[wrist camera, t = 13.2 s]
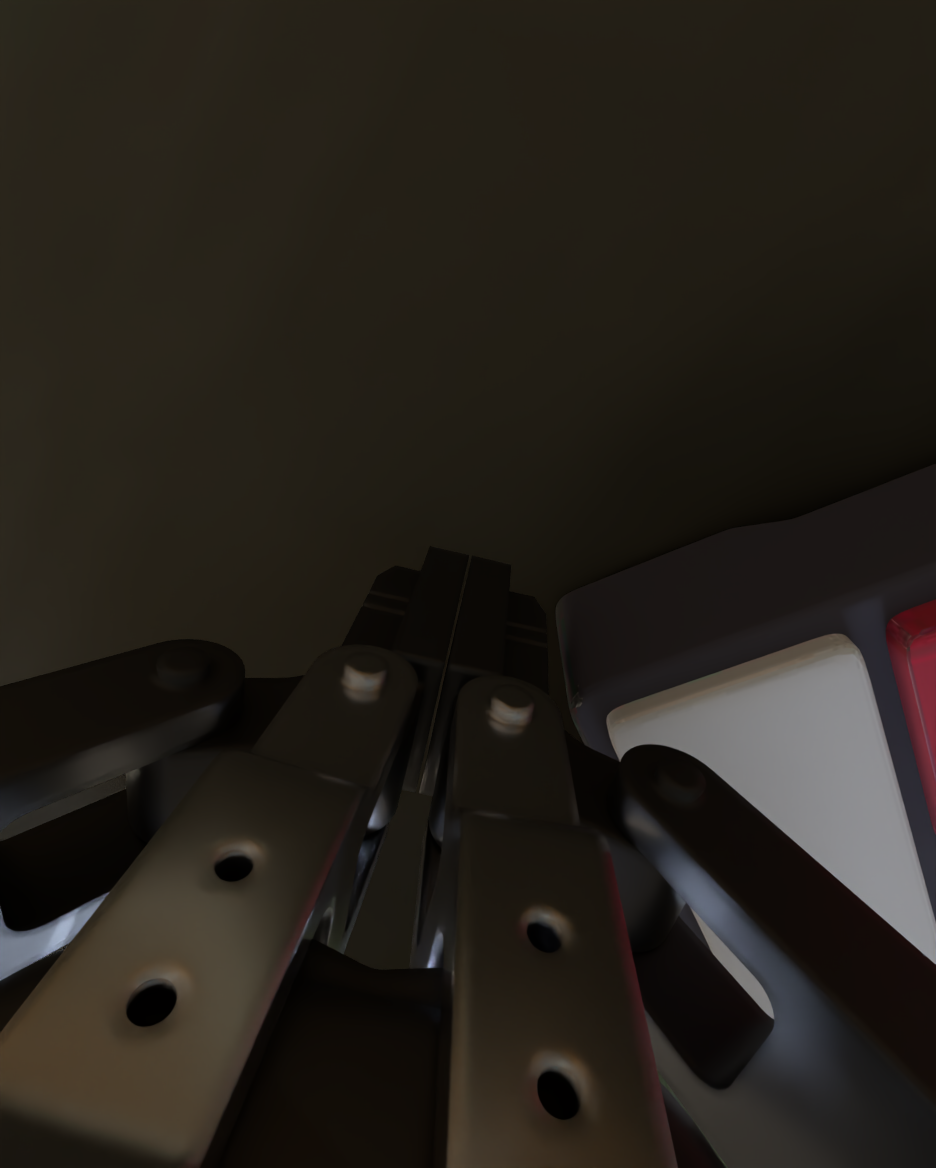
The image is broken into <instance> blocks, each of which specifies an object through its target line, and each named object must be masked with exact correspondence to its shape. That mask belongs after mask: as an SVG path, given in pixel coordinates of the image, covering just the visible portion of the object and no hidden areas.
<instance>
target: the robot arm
mask: <svg viewBox="0 0 936 1168" xmlns="http://www.w3.org/2000/svg"><path fill="white" fill-rule="evenodd" d="M468 559H469V555H466V554H462V553H458V552H453V551H449V550H444V549H440V548H436V547H431V546H430V548H429V551H428V553H427V556H426V558H425V561H424V564H423V566H422V569H421V571H417V570H413V569H408V568H404V567H399V566H394V567H392V568H390V569H389V570H387V571H385V572H383V573H381V574H380V575H378V576H377V577H376V579H375V581H374V583H373V585H372V587H371V589H370V592H369V594H368V595H367V597H366V599H365V601H364V603H363V607H361V609H360V611H359V613H358V615H357V617H356V619H355V621H354V622H353V624H352V626H351V628H350V630H349V632H348V634H347V636H346V638H345V640H344V642H343V644H342V646H340V647H336V648H333V649H330V650H328V651H326V652H324V653H323V654H321V655H320V656H319V657H318V658H317V659H316V660H315V661H314V662H313V664H312V665H311V667H310V668H309V669H308V671H307V672H306V674H305V675H302V676H298V677H291V678H245V667H244V664H243V662H242V660H241V659H240V657H239V656H238V655H237V654H236V653H234V652H233V651H232V650H230V649H228V648H227V647H225V646H222V645H220V644H217V643H213V642H209V641H204V640H194V639H181V640H171V641H165V642H161V643H157V644H153V645H150V646H146V647H142V648H139V649H135V650H131V651H128V652H124V653H120V654H117V655H113V656H109V657H106V658H102V659H99V660H95V661H91V662H88V663H84V664H80V665H77V666H73V667H69V668H66V669H62V670H59V671H55V672H51V673H48V674H44V675H40V676H37V677H33V678H29V679H26V680H22V681H19V682H15V683H11V684H8V685H4V686H0V832H1V831H2V830H3V829H4V828H5V827H6V826H7V825H8V824H10V823H11V822H12V821H14V820H15V819H17V818H19V817H20V816H22V815H24V814H27V813H29V812H31V811H33V810H36V809H38V808H41V807H43V806H46V805H48V804H51V803H53V802H56V801H58V800H61V799H63V798H66V797H68V796H71V795H73V794H76V793H78V792H81V791H83V790H86V789H88V788H91V787H93V786H96V785H98V784H101V783H103V782H105V781H108V780H110V779H113V778H115V777H118V776H120V775H123V774H125V775H126V789H125V790H123V791H121V792H118V793H116V794H113V795H111V796H109V797H106V798H104V799H101V800H99V801H97V802H94V803H92V804H90V805H87V806H85V807H82V808H80V809H78V810H75V811H73V812H70V813H68V814H66V815H63V816H61V817H59V818H56V819H54V820H51V821H49V822H47V823H44V824H42V825H39V826H37V827H35V828H32V829H30V830H28V831H25V832H23V833H20V834H18V835H16V836H13V837H11V838H9V839H6V840H3V841H0V1168H726V1167H725V1166H724V1164H723V1163H722V1161H721V1160H720V1158H721V1159H722V1160H723V1162H724V1163H725V1165H726V1166H727V1167H728V1168H936V964H935V963H933V962H932V961H931V960H930V959H929V958H928V957H927V956H925V955H924V954H923V953H922V952H921V951H920V950H919V949H917V948H916V947H915V946H914V945H913V944H912V943H911V942H909V941H908V940H907V939H906V938H905V937H904V936H902V935H901V934H900V933H899V932H898V931H897V930H896V929H894V928H893V927H892V926H891V925H890V924H889V923H888V922H886V921H885V920H884V919H883V918H882V917H881V916H879V915H878V914H877V913H876V912H875V911H874V910H873V909H871V908H870V907H869V906H868V905H867V904H866V903H865V902H863V901H862V900H861V899H860V898H859V897H858V896H857V895H855V894H854V893H853V892H852V891H851V890H850V889H848V888H847V887H846V886H845V885H844V884H843V883H842V882H840V881H839V880H838V879H837V878H836V877H835V876H834V875H832V874H831V873H830V872H829V871H828V870H827V869H825V868H824V867H823V866H822V865H821V864H820V863H819V862H817V861H816V860H815V859H814V858H813V857H812V856H811V855H809V854H808V853H807V852H806V851H805V850H804V849H803V848H801V847H800V846H799V845H798V844H797V843H796V842H794V841H793V840H792V839H791V838H790V837H789V836H788V835H786V834H785V833H784V832H783V831H782V830H781V829H780V828H778V827H777V826H776V825H775V824H774V823H773V822H771V821H770V820H769V819H768V818H767V817H766V816H765V815H763V814H762V813H761V812H760V811H759V810H758V809H757V808H755V807H754V806H753V805H752V804H751V803H750V802H749V801H747V800H746V799H745V798H744V797H743V796H742V795H740V794H739V793H738V792H737V791H736V790H735V789H734V788H732V787H731V786H730V785H729V784H728V783H727V782H726V781H724V780H723V779H722V778H721V777H720V776H719V775H717V774H716V773H715V772H714V771H713V770H712V769H710V768H709V767H708V766H707V765H705V764H704V763H703V762H701V761H700V760H698V759H696V758H695V757H693V756H691V755H689V754H687V753H685V752H683V751H680V750H678V749H675V748H671V747H668V746H663V745H657V744H644V745H639V746H635V747H633V748H631V749H629V750H628V751H627V752H626V753H625V754H624V755H623V757H622V759H621V761H620V762H619V761H617V760H615V759H613V758H611V757H609V756H606V755H604V754H602V753H600V752H598V751H596V750H594V749H592V748H590V747H588V746H586V745H584V744H582V743H581V742H579V741H578V740H576V739H575V738H573V737H572V736H571V735H570V734H568V733H567V732H566V731H565V730H564V727H563V721H562V716H561V713H560V710H559V708H558V706H557V705H556V703H555V702H554V701H553V699H552V698H550V697H549V687H548V656H547V634H546V632H547V624H546V613H545V612H544V610H543V609H542V607H541V606H540V605H539V603H538V602H537V600H536V599H535V597H532V596H528V595H523V594H519V593H514V592H510V591H509V588H510V575H511V564H506V563H502V562H498V561H493V560H489V559H484V558H480V557H476V556H472V559H471V563H470V567H469V572H468V576H467V580H466V585H465V589H464V593H463V598H462V602H461V607H460V611H459V615H458V620H457V624H456V628H455V633H454V637H453V642H452V646H451V650H450V655H449V659H448V664H447V668H446V673H445V677H444V682H443V687H442V691H441V696H440V700H439V705H438V709H437V714H436V718H435V723H434V727H433V732H432V737H431V741H430V746H429V750H428V755H427V759H426V764H425V768H424V773H423V777H422V782H421V787H420V791H419V793H421V794H425V795H430V796H433V797H432V802H431V808H430V813H429V817H428V822H427V826H426V830H425V834H424V838H423V843H422V850H421V860H420V870H419V880H418V890H417V899H416V909H415V919H414V929H413V938H412V948H411V958H410V967H409V969H392V970H379V969H374V968H370V967H368V966H365V965H363V964H361V963H359V962H357V961H355V960H353V959H352V958H350V957H348V956H346V955H344V952H345V949H346V946H347V943H348V940H349V937H350V935H351V932H352V929H353V926H354V924H355V921H356V918H357V915H358V913H359V910H360V907H361V904H362V902H363V899H364V896H365V893H366V890H367V888H368V885H369V882H370V879H371V877H372V874H373V871H374V868H375V866H376V863H377V860H378V857H379V855H380V852H381V849H382V846H383V843H384V841H385V838H386V835H387V831H388V826H389V821H390V820H391V819H392V817H393V816H394V814H395V812H396V809H397V806H398V802H399V798H400V794H401V791H402V790H406V791H411V792H415V791H416V787H417V783H418V778H419V774H420V770H421V765H422V761H423V756H424V752H425V748H426V743H427V739H428V734H429V730H430V726H431V721H432V717H433V713H434V708H435V704H436V699H437V695H438V691H439V686H440V682H441V678H442V673H443V669H444V664H445V660H446V656H447V651H448V647H449V642H450V638H451V634H452V629H453V625H454V620H455V616H456V612H457V607H458V603H459V598H460V594H461V589H462V585H463V581H464V576H465V572H466V567H467V563H468ZM685 903H687V904H688V905H689V906H690V907H691V908H692V909H693V910H694V911H695V912H696V914H697V915H698V916H699V917H700V918H701V919H702V920H703V921H704V922H705V923H706V924H707V926H708V927H709V928H710V929H711V930H712V931H713V932H714V933H715V934H716V935H717V936H718V938H719V939H720V940H721V941H722V942H723V943H724V944H725V945H726V946H727V947H728V948H729V950H730V951H731V952H732V953H733V954H734V955H735V956H736V957H737V958H738V959H739V961H740V962H741V963H742V964H743V965H744V966H745V967H746V968H747V969H748V970H749V971H750V973H751V974H752V975H753V976H754V977H755V978H756V979H757V981H758V982H759V983H760V985H761V986H762V987H763V989H764V991H765V992H766V994H767V996H768V998H769V1000H770V1003H771V1006H772V1009H773V1014H774V1019H772V1018H771V1017H770V1016H769V1015H767V1014H766V1013H765V1012H764V1011H763V1010H762V1009H761V1008H760V1006H759V1005H758V1004H757V1003H756V1002H755V1001H754V1000H753V999H752V997H751V996H750V995H749V994H748V993H747V992H746V991H745V990H744V988H743V987H742V986H741V985H740V984H739V983H738V982H737V981H736V979H735V978H734V977H733V976H732V975H731V974H730V973H729V972H728V970H727V969H726V968H725V967H724V966H723V965H722V964H721V963H720V961H719V960H718V959H717V958H716V957H715V956H714V955H713V954H712V952H711V951H710V950H709V949H708V948H707V947H706V946H705V945H704V943H703V942H702V941H701V940H700V939H699V938H698V937H697V936H696V934H695V933H694V932H693V931H692V930H691V929H690V928H689V927H688V925H687V924H686V923H685V922H684V921H683V920H682V919H681V918H680V916H679V914H680V912H681V910H682V909H683V907H684V905H685ZM68 943H70V944H69V945H68V946H67V948H66V949H65V950H64V951H61V952H58V953H55V954H53V955H51V956H48V957H46V958H44V959H42V960H40V961H38V962H35V961H37V960H39V959H41V958H43V957H44V956H46V955H48V954H50V953H52V952H53V951H55V950H57V949H59V948H61V947H63V946H64V945H66V944H68ZM33 962H35V963H33ZM32 963H33V964H32ZM30 964H31V965H30ZM28 965H29V966H28ZM26 966H27V967H26ZM24 967H25V968H24ZM657 1070H658V1072H659V1073H660V1074H661V1076H662V1077H663V1078H664V1080H665V1081H666V1083H667V1084H668V1085H669V1087H670V1088H671V1090H672V1091H673V1092H674V1094H675V1095H676V1097H677V1098H678V1099H679V1101H680V1102H681V1103H682V1105H683V1106H684V1108H685V1109H686V1110H687V1112H688V1113H689V1114H688V1113H687V1112H686V1111H685V1110H684V1108H683V1107H682V1106H681V1105H680V1104H679V1102H678V1101H677V1100H676V1099H675V1098H674V1096H673V1095H672V1094H671V1093H670V1092H669V1090H668V1089H667V1088H666V1087H665V1086H664V1085H663V1084H662V1083H661V1082H660V1081H659V1077H658V1072H657ZM689 1115H690V1116H691V1117H692V1118H691V1117H690V1116H689ZM692 1119H693V1120H694V1121H693V1120H692ZM694 1122H695V1123H696V1124H697V1125H696V1124H695V1123H694ZM697 1126H698V1127H699V1128H698V1127H697ZM700 1130H701V1131H702V1132H701V1131H700ZM702 1133H703V1134H704V1135H705V1136H704V1135H703V1134H702ZM705 1137H706V1138H707V1139H706V1138H705ZM707 1140H708V1141H709V1142H710V1144H711V1145H712V1147H713V1148H714V1149H715V1151H716V1152H717V1154H718V1155H719V1156H720V1158H719V1157H718V1156H717V1154H716V1153H715V1151H714V1150H713V1148H712V1147H711V1145H710V1144H709V1142H708V1141H707Z"/></svg>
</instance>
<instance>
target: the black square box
mask: <svg viewBox="0 0 936 1168" xmlns="http://www.w3.org/2000/svg"><path fill="white" fill-rule="evenodd" d="M555 615H556V623H557V630H558V638H559V645H560V652H561V659H562V665H563V672H564V679H565V685H566V692H567V699H568V705H569V710H570V714H571V717H572V720H573V722H574V724H575V726H576V728H577V730H578V732H579V734H580V736H581V738H582V740H583V742H584V744H585V745H586V746H588V747H590V748H592V749H594V750H596V751H598V752H600V753H602V754H604V755H606V756H609V757H611V758H613V759H615V760H617V761H619V762H620V761H621V759H622V757H623V755H624V754H625V753H626V752H627V751H628V750H629V749H631V748H633V747H635V746H639V745H644V744H657V745H663V746H668V747H671V748H675V749H678V750H680V751H683V752H685V753H687V754H689V755H691V756H693V757H695V758H696V759H698V760H700V761H701V762H703V763H704V764H705V765H707V766H708V767H709V768H710V769H712V770H713V771H714V772H715V773H716V774H717V775H719V776H720V777H721V778H722V779H723V780H724V781H726V782H727V783H728V784H729V785H730V786H731V787H732V788H734V789H735V790H736V791H737V792H738V793H739V794H740V795H742V796H743V797H744V798H745V799H746V800H747V801H749V802H750V803H751V804H752V805H753V806H754V807H755V808H757V809H758V810H759V811H760V812H761V813H762V814H763V815H765V816H766V817H767V818H768V819H769V820H770V821H771V822H773V823H774V824H775V825H776V826H777V827H778V828H780V829H781V830H782V831H783V832H784V833H785V834H786V835H788V836H789V837H790V838H791V839H792V840H793V841H794V842H796V843H797V844H798V845H799V846H800V847H801V848H803V849H804V850H805V851H806V852H807V853H808V854H809V855H811V856H812V857H813V858H814V859H815V860H816V861H817V862H819V863H820V864H821V865H822V866H823V867H824V868H825V869H827V870H828V871H829V872H830V873H831V874H832V875H834V876H835V877H836V878H837V879H838V880H839V881H840V882H842V883H843V884H844V885H845V886H846V887H847V888H848V889H850V890H851V891H852V892H853V893H854V894H855V895H857V896H858V897H859V898H860V899H861V900H862V901H863V902H865V903H866V904H867V905H868V906H869V907H870V908H871V909H873V910H874V911H875V912H876V913H877V914H878V915H879V916H881V917H882V918H883V919H884V920H885V921H886V922H888V923H889V924H890V925H891V926H892V927H893V928H894V929H896V930H897V931H898V932H899V933H900V934H901V935H902V936H904V937H905V938H906V939H907V940H908V941H909V942H911V943H912V944H913V945H914V946H915V947H916V948H917V949H919V950H920V951H921V952H922V953H923V954H924V955H925V956H927V957H928V958H929V959H930V960H931V961H932V962H933V963H935V964H936V464H933V465H931V466H928V467H926V468H923V469H920V470H918V471H915V472H913V473H910V474H908V475H905V476H902V477H900V478H897V479H895V480H892V481H890V482H887V483H885V484H882V485H879V486H877V487H874V488H872V489H869V490H867V491H864V492H862V493H859V494H856V495H854V496H851V497H849V498H846V499H844V500H841V501H839V502H836V503H833V504H831V505H828V506H826V507H823V508H821V509H818V510H815V511H813V512H810V513H808V514H805V515H802V516H800V517H797V518H794V519H790V520H784V521H778V522H771V523H764V524H757V525H751V526H744V527H737V528H731V529H728V530H725V531H723V532H720V533H717V534H715V535H712V536H710V537H707V538H704V539H702V540H699V541H697V542H694V543H692V544H689V545H687V546H684V547H682V548H679V549H677V550H674V551H672V552H669V553H667V554H664V555H662V556H659V557H656V558H654V559H651V560H649V561H646V562H644V563H641V564H639V565H636V566H634V567H631V568H629V569H626V570H624V571H621V572H619V573H616V574H614V575H611V576H608V577H606V578H603V579H601V580H598V581H596V582H593V583H591V584H588V585H586V586H583V587H581V588H578V589H576V590H574V591H572V592H570V593H567V594H566V595H564V596H563V597H562V598H561V599H560V600H559V602H558V603H557V606H556V612H555ZM679 916H680V918H681V919H682V920H683V921H684V922H685V923H686V924H687V925H688V927H689V928H690V929H691V930H692V931H693V932H694V933H695V934H696V936H697V937H698V938H699V939H700V940H701V941H702V942H703V943H704V945H705V946H706V947H707V948H708V949H709V950H710V951H711V952H712V954H713V955H714V956H715V957H716V958H717V959H718V960H719V961H720V963H721V964H722V965H723V966H724V967H725V968H726V969H727V970H728V972H729V973H730V974H731V975H732V976H733V977H734V978H735V979H736V981H737V982H738V983H739V984H740V985H741V986H742V987H743V988H744V990H745V991H746V992H747V993H748V994H749V995H750V996H751V997H752V999H753V1000H754V1001H755V1002H756V1003H757V1004H758V1005H759V1006H760V1008H761V1009H762V1010H763V1011H764V1012H765V1013H766V1014H767V1015H769V1016H770V1017H771V1018H772V1019H774V1014H773V1009H772V1006H771V1003H770V1000H769V998H768V996H767V994H766V992H765V991H764V989H763V987H762V986H761V985H760V983H759V982H758V981H757V979H756V978H755V977H754V976H753V975H752V974H751V973H750V971H749V970H748V969H747V968H746V967H745V966H744V965H743V964H742V963H741V962H740V961H739V959H738V958H737V957H736V956H735V955H734V954H733V953H732V952H731V951H730V950H729V948H728V947H727V946H726V945H725V944H724V943H723V942H722V941H721V940H720V939H719V938H718V936H717V935H716V934H715V933H714V932H713V931H712V930H711V929H710V928H709V927H708V926H707V924H706V923H705V922H704V921H703V920H702V919H701V918H700V917H699V916H698V915H697V914H696V912H695V911H694V910H693V909H692V908H691V907H690V906H689V905H688V904H687V903H685V905H684V907H683V909H682V910H681V912H680V914H679Z"/></svg>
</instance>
